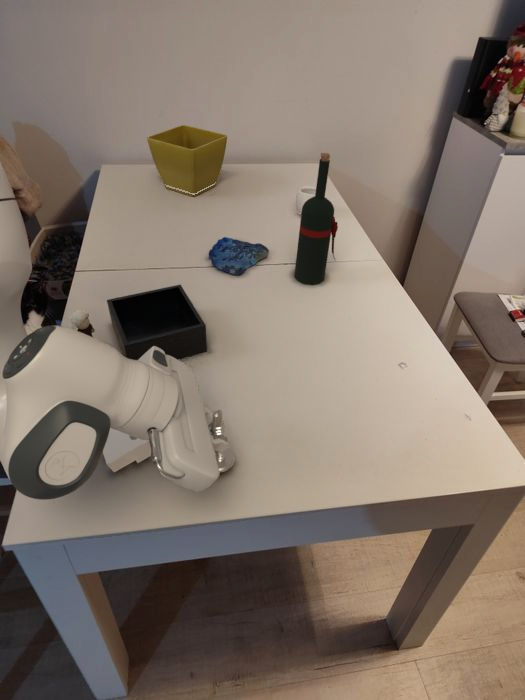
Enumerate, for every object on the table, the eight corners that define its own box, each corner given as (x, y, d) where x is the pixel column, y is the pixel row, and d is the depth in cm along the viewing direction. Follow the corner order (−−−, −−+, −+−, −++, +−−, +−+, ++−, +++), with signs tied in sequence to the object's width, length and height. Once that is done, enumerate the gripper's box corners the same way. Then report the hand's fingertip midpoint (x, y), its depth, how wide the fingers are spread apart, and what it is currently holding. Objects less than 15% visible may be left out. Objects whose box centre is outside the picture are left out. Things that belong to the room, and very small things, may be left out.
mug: (324, 219, 140) (328, 194, 135) (299, 221, 138) (301, 196, 133) (312, 203, 149) (315, 180, 144) (287, 205, 147) (290, 181, 142)
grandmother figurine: (101, 377, 83) (86, 324, 75) (79, 379, 82) (62, 325, 74) (106, 351, 89) (93, 298, 80) (86, 352, 88) (71, 299, 80)
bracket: (96, 417, 77) (75, 391, 71) (134, 397, 79) (116, 370, 73) (116, 475, 69) (94, 451, 63) (158, 451, 70) (140, 426, 65)
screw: (235, 453, 72) (233, 480, 68) (205, 452, 71) (201, 478, 68) (236, 398, 63) (233, 425, 59) (202, 397, 63) (197, 423, 59)
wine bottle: (336, 284, 111) (359, 160, 92) (296, 285, 110) (310, 160, 91) (329, 268, 117) (349, 148, 98) (291, 268, 116) (303, 148, 96)
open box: (129, 372, 84) (124, 345, 80) (112, 326, 95) (106, 299, 90) (207, 351, 90) (205, 325, 85) (182, 309, 100) (180, 284, 96)
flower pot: (195, 203, 145) (192, 149, 134) (151, 189, 152) (145, 137, 141) (228, 185, 157) (228, 135, 146) (186, 173, 164) (183, 124, 153)
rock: (273, 252, 122) (273, 246, 120) (237, 280, 111) (236, 273, 109) (229, 238, 128) (229, 232, 126) (191, 263, 117) (190, 256, 115)
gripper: (172, 454, 48) (256, 485, 57) (154, 337, 63) (222, 376, 71) (136, 486, 50) (222, 511, 59) (126, 365, 65) (196, 399, 73)
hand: (222, 436), depth 65 cm, fingers closed on screw, 2 cm apart
